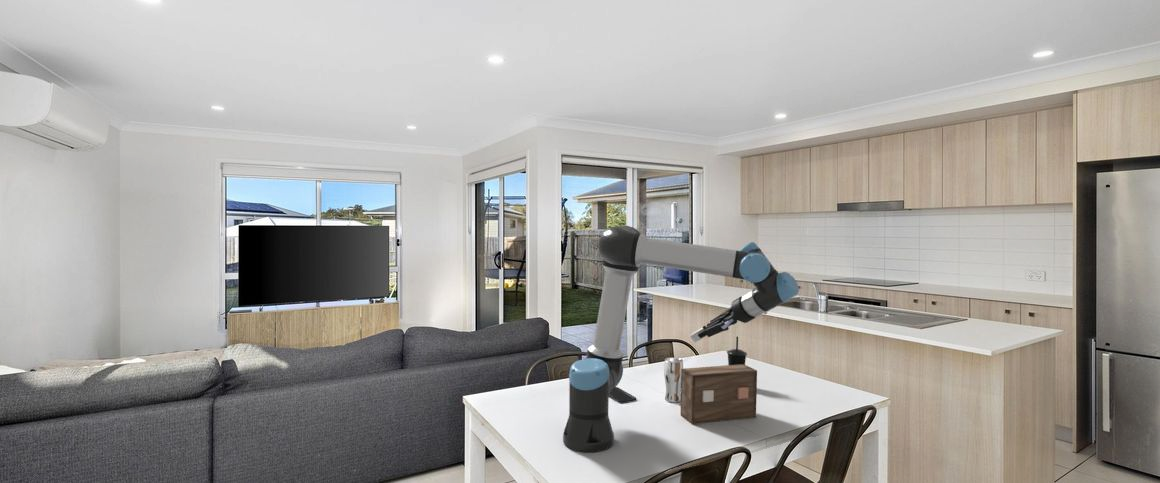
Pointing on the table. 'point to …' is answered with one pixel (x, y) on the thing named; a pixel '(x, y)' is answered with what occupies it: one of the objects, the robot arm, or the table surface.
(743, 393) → the terracotta key
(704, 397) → the oat key
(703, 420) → the key box
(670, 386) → the beer glass
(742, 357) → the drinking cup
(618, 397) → the phone
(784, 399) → the table surface
